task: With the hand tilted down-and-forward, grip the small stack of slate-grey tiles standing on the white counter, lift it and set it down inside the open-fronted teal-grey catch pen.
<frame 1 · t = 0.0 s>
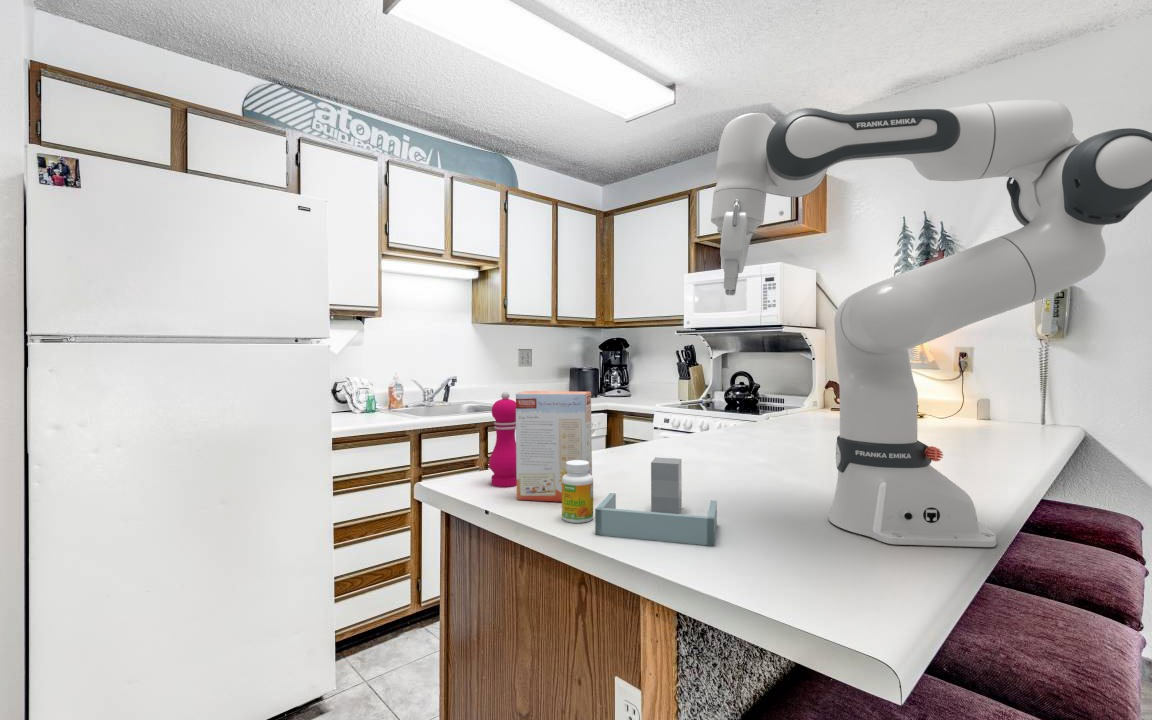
hand: (729, 292, 94), 39 cm above the counter, tool pointing down, fingers open, 8 cm apart
cracker box: (554, 499, 105), on the counter
supplement bottle: (577, 519, 92), on the counter
tile stack: (666, 510, 97), on the counter
pepper mill: (506, 484, 117), on the counter
catch pen: (658, 528, 87), on the counter
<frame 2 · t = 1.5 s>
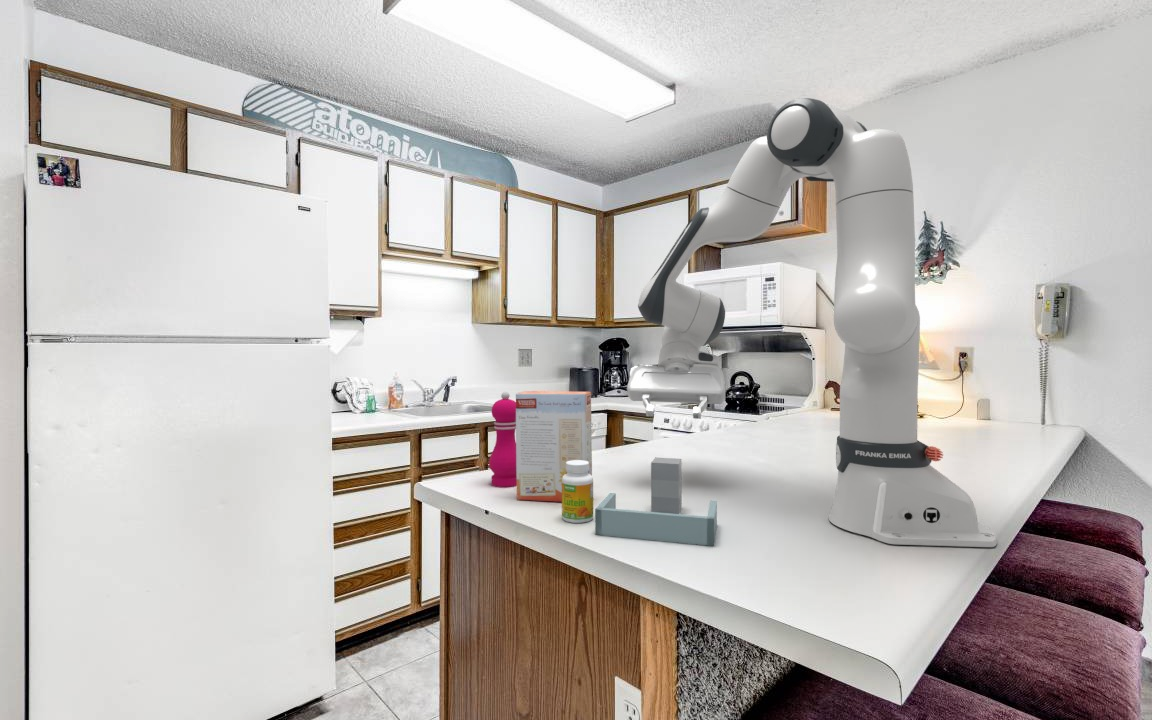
hand: (672, 415, 108), 16 cm above the counter, tool tilted 45°, fingers open, 8 cm apart
nothing on the counter moved.
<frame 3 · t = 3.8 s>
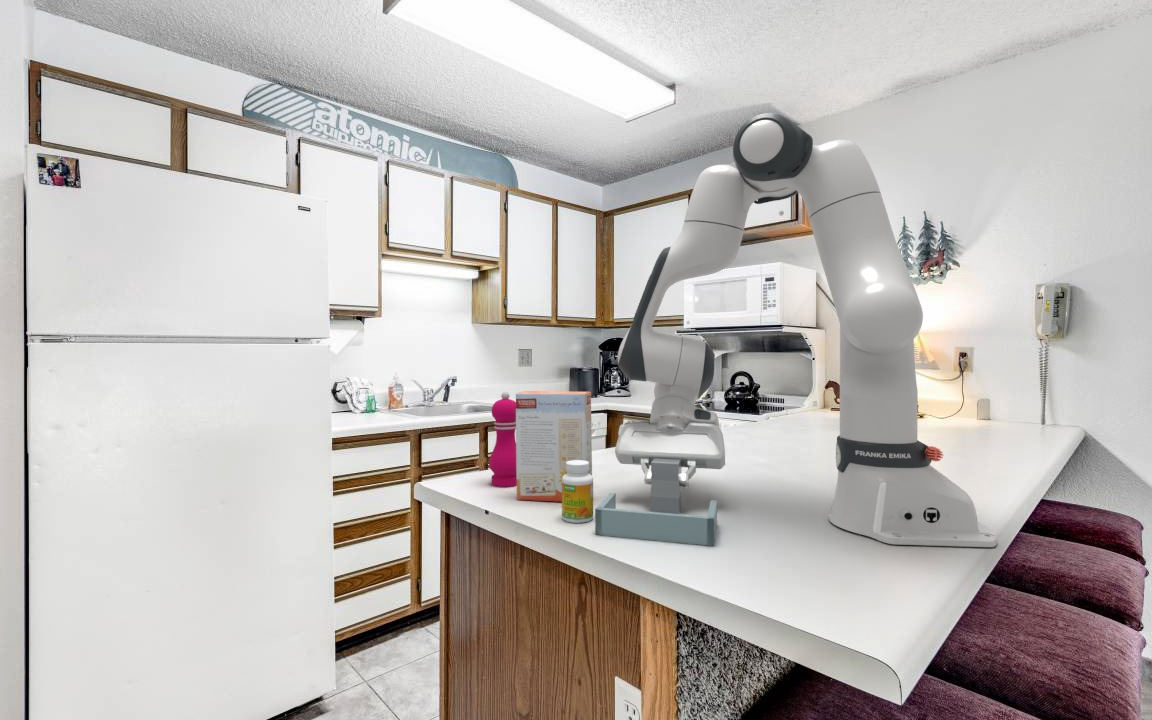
hand: (666, 484, 96), 5 cm above the counter, tool tilted 45°, fingers closed on tile stack, 5 cm apart
tile stack: (666, 510, 97), on the counter, touching gripper
everything else where it was.
when the fingers open (6 cm above the counter, at t = 10.7 s): tile stack drops 1 cm, on the counter.
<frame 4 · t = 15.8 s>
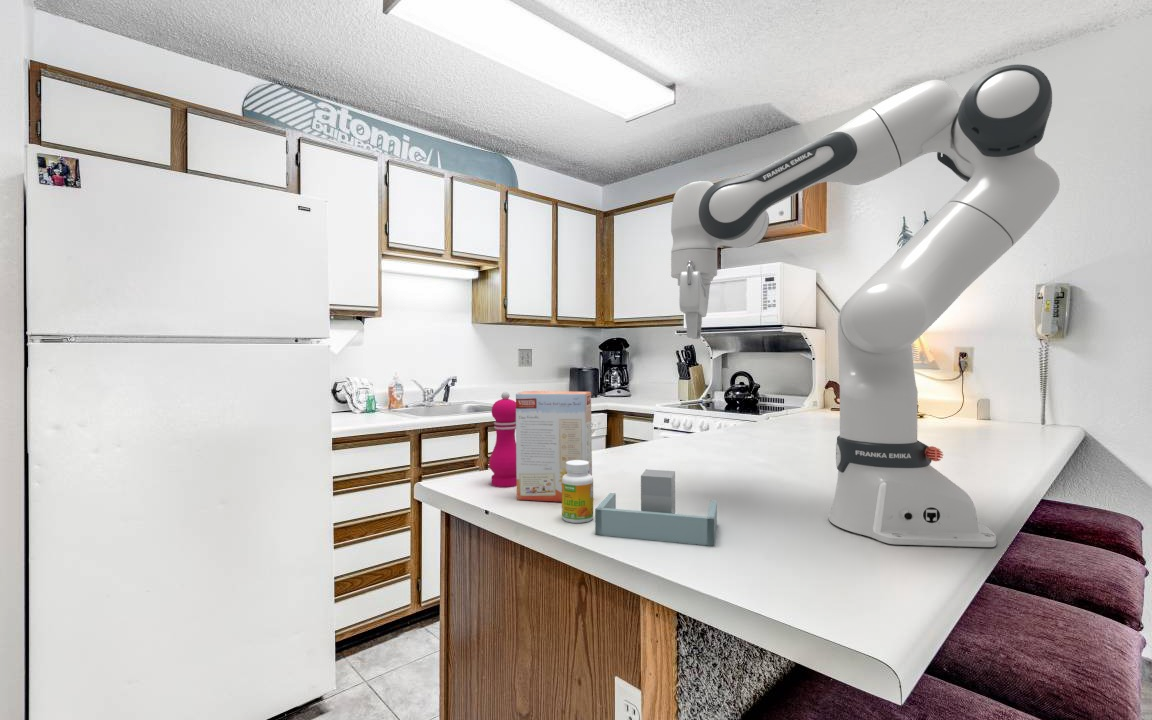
hand: (694, 338, 106), 31 cm above the counter, tool pointing down, fingers open, 8 cm apart
tile stack: (658, 529, 87), on the counter
everything else where it was.
at the end: tile stack inside the target area (0.3 cm from its centre), on the counter; tile stack moved 10.5 cm from its start; the gripper is holding nothing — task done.
